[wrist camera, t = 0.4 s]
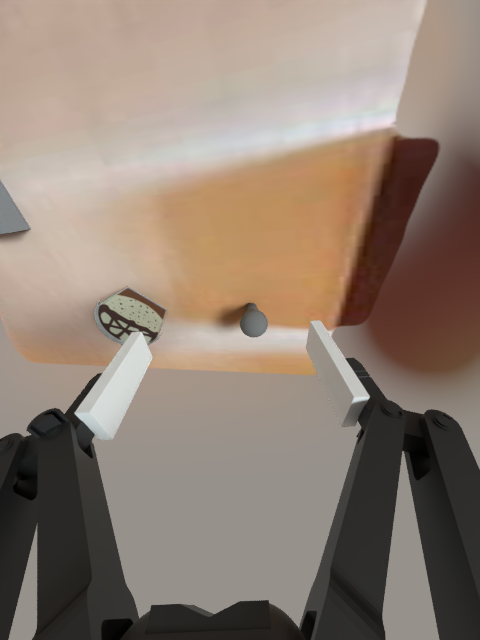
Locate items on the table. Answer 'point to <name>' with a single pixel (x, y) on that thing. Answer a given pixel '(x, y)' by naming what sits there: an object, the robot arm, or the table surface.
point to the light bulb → (253, 321)
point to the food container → (129, 316)
